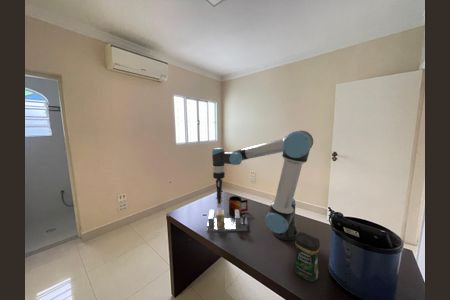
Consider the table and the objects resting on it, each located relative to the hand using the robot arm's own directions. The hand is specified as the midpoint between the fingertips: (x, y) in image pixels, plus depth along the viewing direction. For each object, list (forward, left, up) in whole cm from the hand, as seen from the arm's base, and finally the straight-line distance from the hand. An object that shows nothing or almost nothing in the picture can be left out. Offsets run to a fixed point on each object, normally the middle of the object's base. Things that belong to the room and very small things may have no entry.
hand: (219, 204), depth 115 cm
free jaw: (-14, 0, -14) cm, 20 cm away
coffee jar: (-40, +39, -15) cm, 58 cm away
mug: (-12, -17, -16) cm, 26 cm away
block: (0, 0, -14) cm, 14 cm away
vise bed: (-4, 0, -15) cm, 16 cm away
